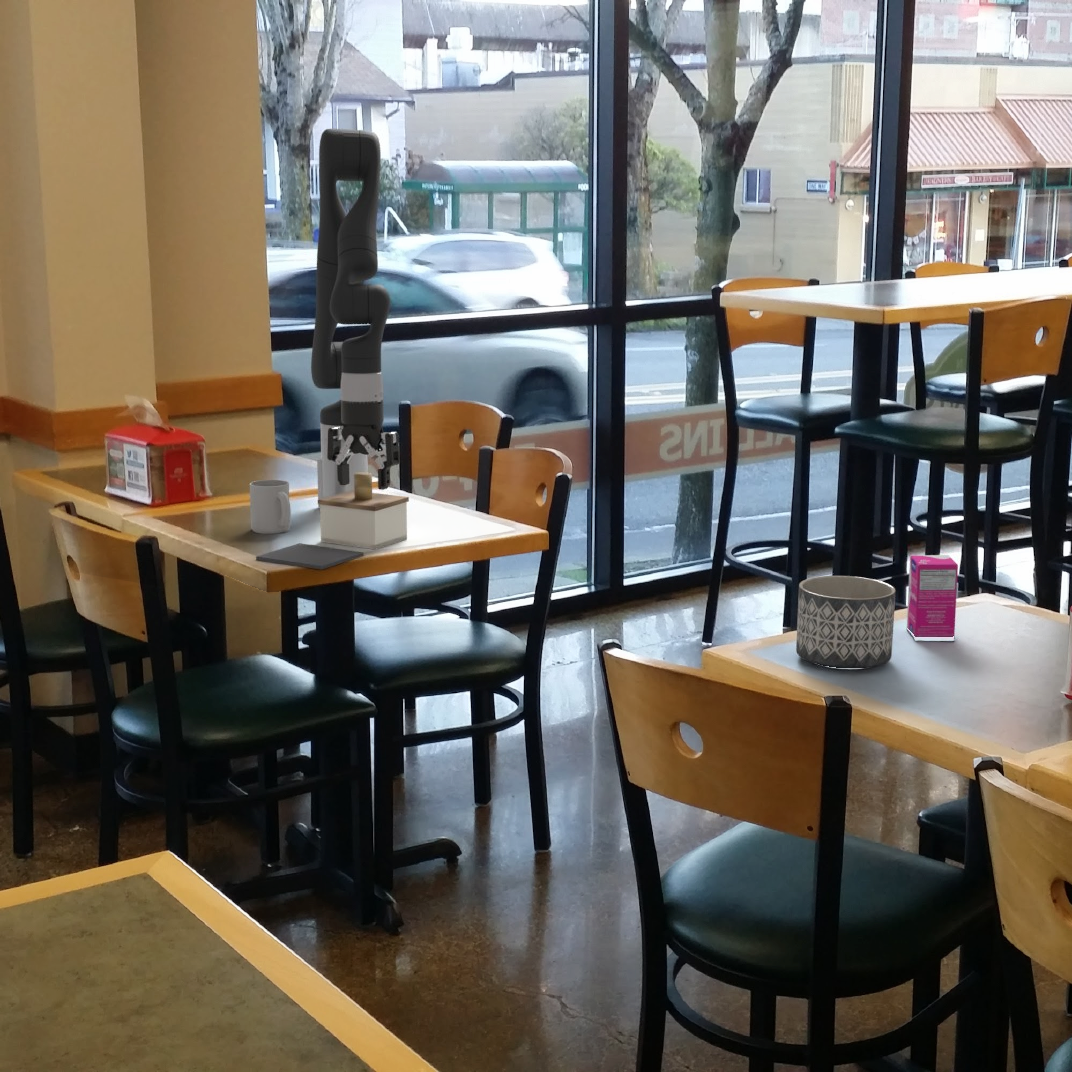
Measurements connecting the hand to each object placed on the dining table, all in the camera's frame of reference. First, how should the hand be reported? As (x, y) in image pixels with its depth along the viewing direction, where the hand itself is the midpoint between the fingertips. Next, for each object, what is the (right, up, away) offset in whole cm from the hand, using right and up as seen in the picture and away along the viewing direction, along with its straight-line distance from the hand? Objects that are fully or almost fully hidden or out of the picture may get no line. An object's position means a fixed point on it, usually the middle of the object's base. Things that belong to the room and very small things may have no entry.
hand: (363, 486), depth 273 cm
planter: (+73, -26, -68) cm, 103 cm away
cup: (-18, -8, +10) cm, 22 cm away
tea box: (0, -10, +2) cm, 10 cm away
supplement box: (+88, -24, -56) cm, 107 cm away
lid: (0, -3, +1) cm, 3 cm away
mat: (-8, -13, -11) cm, 19 cm away
